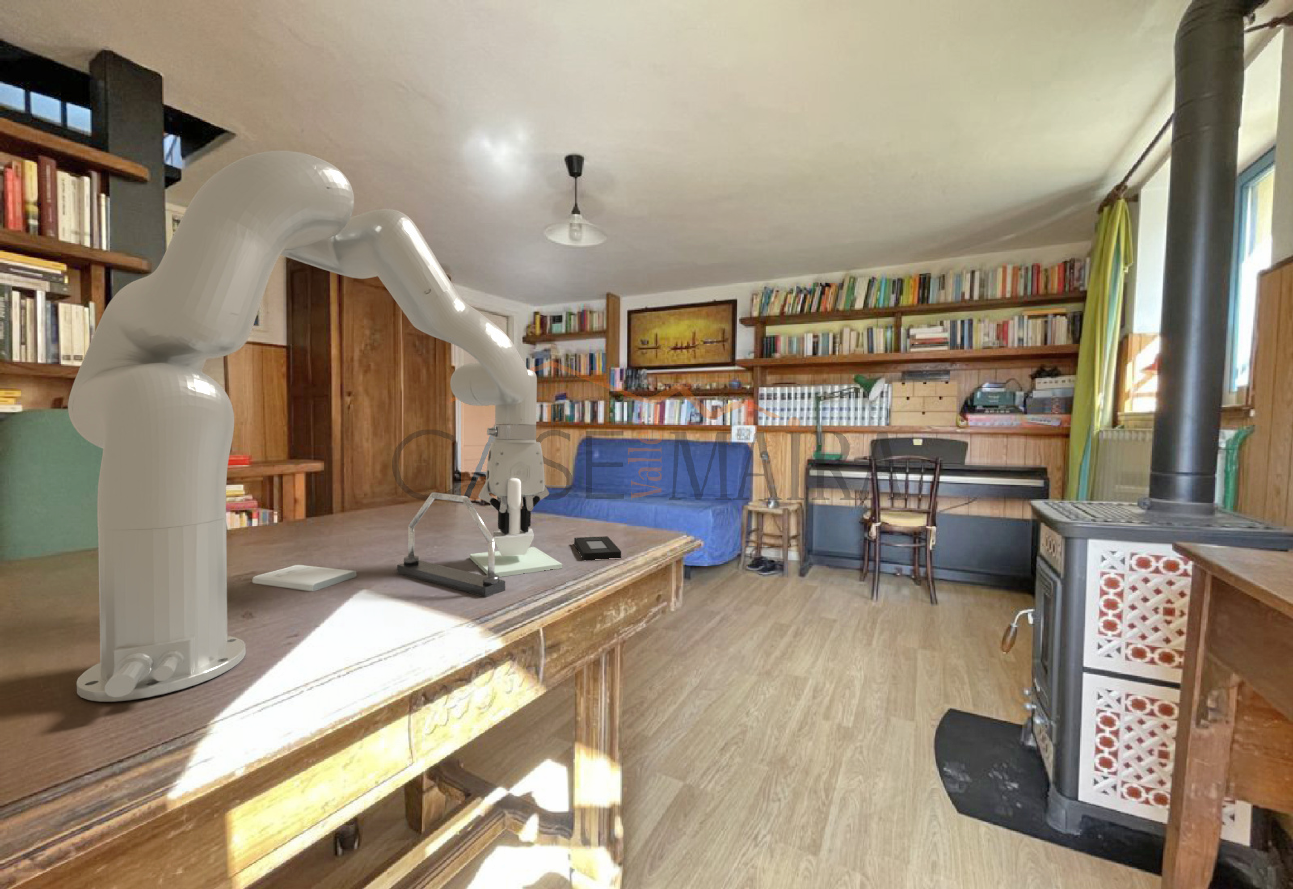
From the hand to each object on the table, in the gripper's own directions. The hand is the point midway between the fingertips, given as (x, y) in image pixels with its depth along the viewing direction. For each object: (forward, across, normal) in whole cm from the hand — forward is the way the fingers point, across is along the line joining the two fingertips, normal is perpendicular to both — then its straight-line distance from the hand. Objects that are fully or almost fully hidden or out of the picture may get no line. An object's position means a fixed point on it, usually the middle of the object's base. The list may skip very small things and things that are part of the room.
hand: (514, 531), depth 96 cm
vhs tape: (+7, +18, +1) cm, 19 cm away
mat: (+6, 0, 0) cm, 6 cm away
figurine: (+4, 0, 0) cm, 4 cm away
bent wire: (+6, -13, -6) cm, 15 cm away
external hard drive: (+7, -33, +6) cm, 34 cm away
